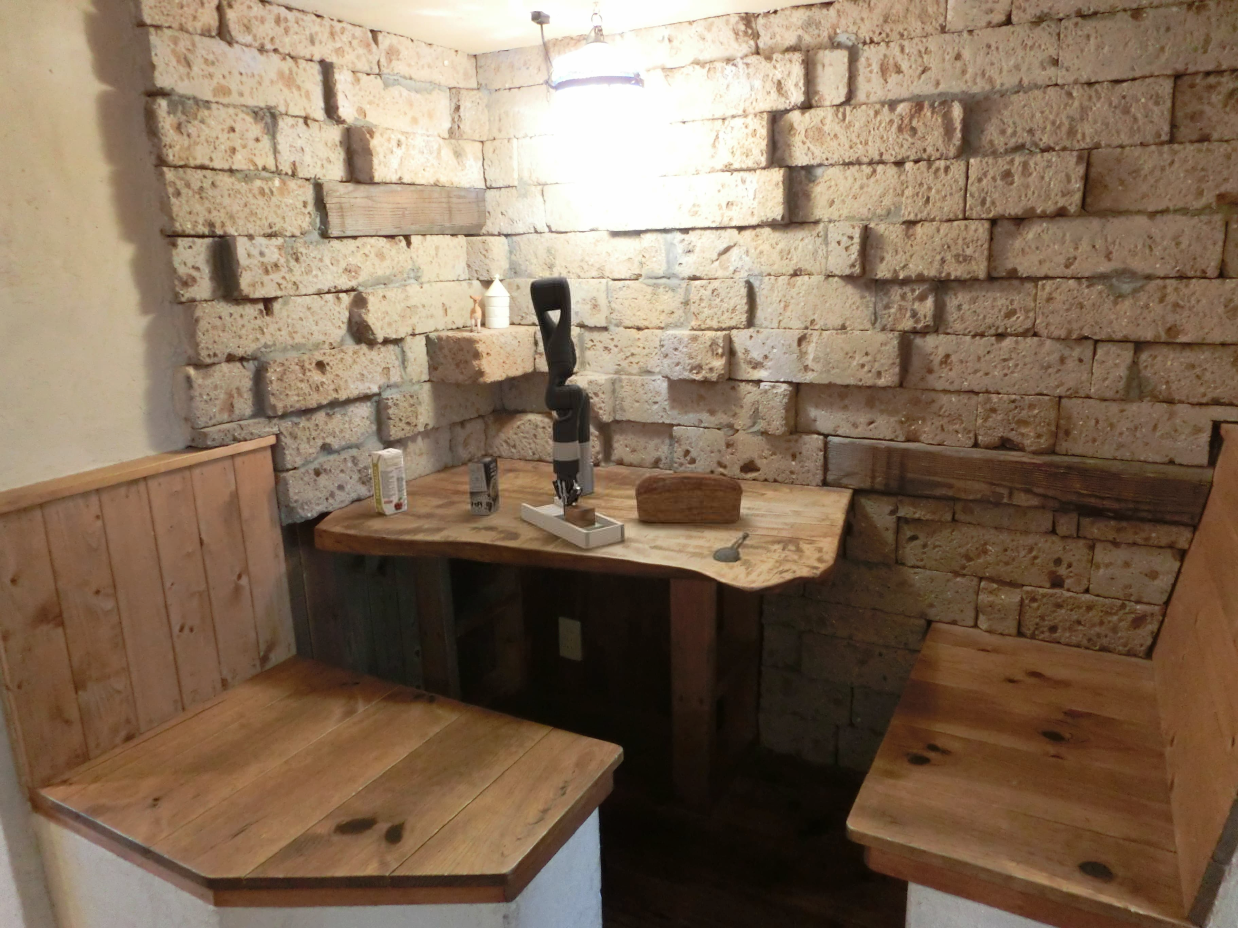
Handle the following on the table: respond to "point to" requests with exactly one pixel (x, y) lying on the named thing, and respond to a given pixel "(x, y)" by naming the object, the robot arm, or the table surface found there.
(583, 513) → the walnut block
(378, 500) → the juice carton
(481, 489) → the coffee box
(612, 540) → the track
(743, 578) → the table surface
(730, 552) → the soupspoon
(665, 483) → the bread
